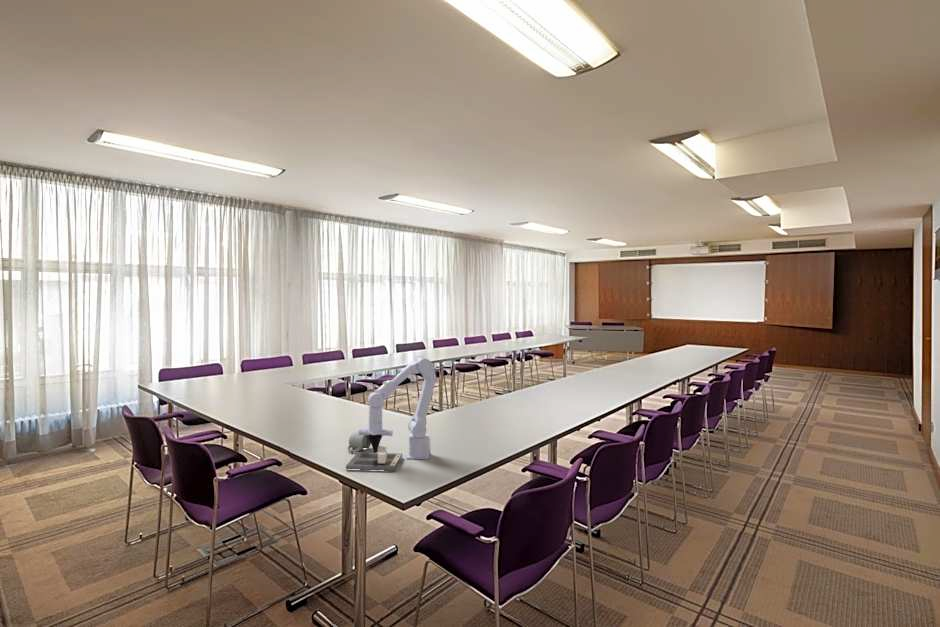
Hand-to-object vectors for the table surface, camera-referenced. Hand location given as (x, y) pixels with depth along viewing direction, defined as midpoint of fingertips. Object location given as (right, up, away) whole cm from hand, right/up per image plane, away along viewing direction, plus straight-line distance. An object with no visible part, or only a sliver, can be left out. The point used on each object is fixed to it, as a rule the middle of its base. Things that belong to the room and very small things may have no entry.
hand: (375, 451), depth 200 cm
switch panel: (+1, -4, -4) cm, 6 cm away
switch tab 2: (+4, -2, -8) cm, 10 cm away
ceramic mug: (-11, -4, +14) cm, 18 cm away
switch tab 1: (+3, -2, 0) cm, 3 cm away
